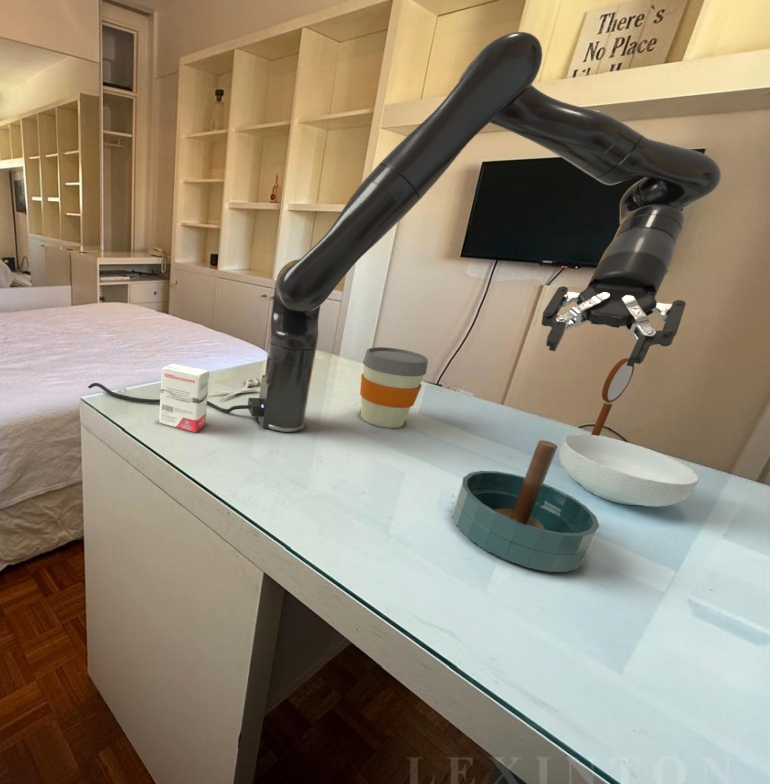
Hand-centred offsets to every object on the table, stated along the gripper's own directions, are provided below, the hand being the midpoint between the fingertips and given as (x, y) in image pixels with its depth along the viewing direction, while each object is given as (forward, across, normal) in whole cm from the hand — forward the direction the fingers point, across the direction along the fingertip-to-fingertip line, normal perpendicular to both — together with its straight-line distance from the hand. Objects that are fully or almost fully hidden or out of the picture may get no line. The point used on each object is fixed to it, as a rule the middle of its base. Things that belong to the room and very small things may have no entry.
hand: (590, 354), depth 63 cm
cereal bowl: (+6, +8, +29) cm, 31 cm away
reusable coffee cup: (+8, -30, +28) cm, 42 cm away
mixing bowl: (+26, 0, +9) cm, 27 cm away
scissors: (+17, -60, +18) cm, 65 cm away
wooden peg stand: (+25, 0, +9) cm, 27 cm away
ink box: (+35, -55, +1) cm, 65 cm away
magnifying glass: (-6, +3, +41) cm, 41 cm away
